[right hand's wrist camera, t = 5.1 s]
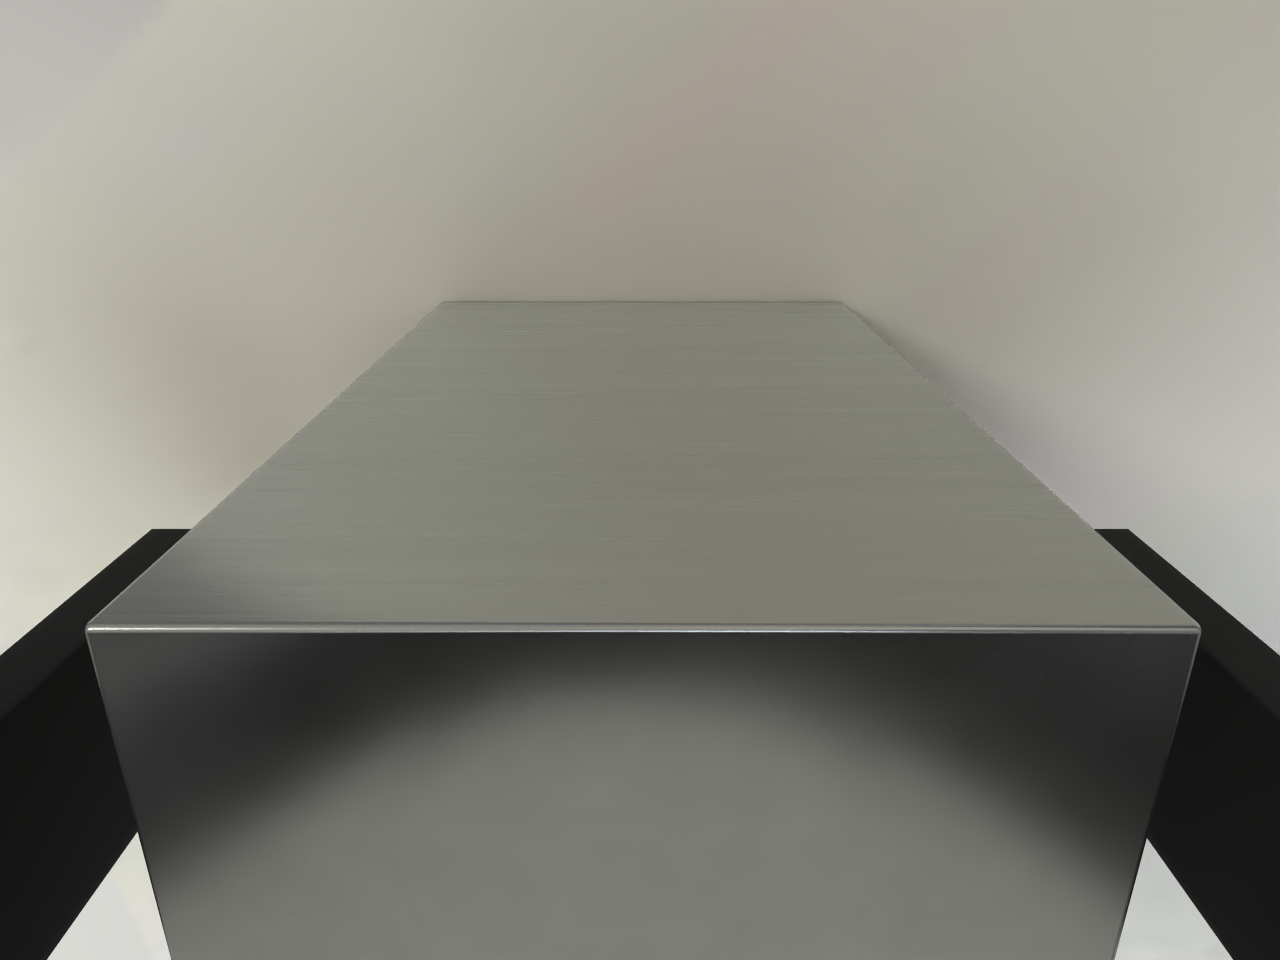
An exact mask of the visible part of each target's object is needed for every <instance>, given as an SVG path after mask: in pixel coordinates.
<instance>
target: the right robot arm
mask: <svg viewBox="0 0 1280 960" xmlns="http://www.w3.org/2000/svg"><path fill="white" fill-rule="evenodd" d="M190 530H191V529H151V530H150V531H149V532H148V533H147V534H145V535H144V536H143V537H142V538H141V539H139V540H138V541H137V542H136V543H135V544H133V545H132V546H131V547H130V548H129V549H127V550H126V551H125V552H124V553H123V554H121V555H120V556H119V557H118V558H117V559H115V560H114V561H113V562H112V563H111V564H109V565H108V566H107V567H106V568H105V569H103V570H102V571H101V572H100V573H99V574H97V575H96V576H95V577H94V578H93V579H91V580H90V581H89V582H88V583H87V584H85V585H84V586H83V587H82V588H81V589H79V590H78V591H77V592H76V593H75V594H73V595H72V596H71V597H70V598H69V599H68V600H66V601H65V602H64V603H63V604H62V605H60V606H59V607H58V608H57V609H56V610H54V611H53V612H52V613H51V614H50V615H48V616H47V617H46V618H45V619H44V620H42V621H41V622H40V623H39V624H38V625H36V626H35V627H34V628H33V629H32V630H30V631H29V632H28V633H27V634H26V635H24V636H23V637H22V638H21V639H20V640H18V641H17V642H16V643H15V644H14V645H12V646H11V647H10V648H9V649H8V650H6V651H5V652H4V653H3V654H2V655H0V960H47V959H48V957H49V956H50V954H51V953H52V951H53V950H54V949H55V947H56V946H57V944H58V943H59V942H60V940H61V939H62V937H63V936H64V935H65V933H66V932H67V930H68V929H69V928H70V926H71V925H72V923H73V922H74V920H75V919H76V918H77V916H78V915H79V913H80V912H81V911H82V909H83V908H84V906H85V905H86V903H87V902H88V901H89V899H90V898H91V896H92V895H93V894H94V892H95V891H96V889H97V888H98V886H99V885H100V884H101V882H102V881H103V879H104V878H105V877H106V875H107V874H108V872H109V871H110V870H111V868H112V867H113V865H114V864H115V863H116V861H117V860H118V858H119V857H120V855H121V854H122V853H123V851H124V850H125V848H126V847H127V846H128V844H129V843H130V841H131V840H132V839H133V837H134V836H135V834H136V833H137V827H136V823H135V820H134V816H133V812H132V808H131V804H130V801H129V797H128V793H127V789H126V785H125V782H124V778H123V774H122V770H121V767H120V763H119V759H118V755H117V751H116V748H115V744H114V740H113V736H112V732H111V729H110V725H109V721H108V717H107V713H106V710H105V706H104V702H103V698H102V695H101V691H100V687H99V683H98V679H97V676H96V672H95V668H94V664H93V660H92V657H91V653H90V649H89V645H88V641H87V638H86V634H85V628H86V625H87V623H88V622H89V621H90V620H92V619H93V618H94V617H95V616H96V615H97V614H98V613H99V612H100V611H101V610H103V609H104V608H105V607H106V606H107V605H108V604H109V603H110V602H111V601H113V600H114V599H115V598H116V597H117V596H118V595H119V594H120V593H121V592H123V591H124V590H125V589H126V588H127V587H128V586H129V585H130V584H131V583H132V582H134V581H135V580H136V579H137V578H138V577H139V576H140V575H141V574H142V573H144V572H145V571H146V570H147V569H148V568H149V567H150V566H151V565H152V564H153V563H155V562H156V561H157V560H158V559H159V558H160V557H161V556H162V555H163V554H165V553H166V552H167V551H168V550H169V549H170V548H171V547H172V546H173V545H174V544H176V543H177V542H178V541H179V540H180V539H181V538H182V537H183V536H184V535H186V534H187V533H188V532H189V531H190ZM1094 530H1095V531H1096V532H1097V533H1098V534H1099V535H1101V536H1102V537H1103V538H1104V539H1105V540H1106V541H1107V542H1108V543H1109V544H1111V545H1112V546H1113V547H1114V548H1115V549H1116V550H1117V551H1118V552H1119V553H1120V554H1122V555H1123V556H1124V557H1125V558H1126V559H1127V560H1128V561H1129V562H1130V563H1132V564H1133V565H1134V566H1135V567H1136V568H1137V569H1138V570H1139V571H1140V572H1142V573H1143V574H1144V575H1145V576H1146V577H1147V578H1148V579H1149V580H1150V581H1152V582H1153V583H1154V584H1155V585H1156V586H1157V587H1158V588H1159V589H1160V590H1162V591H1163V592H1164V593H1165V594H1166V595H1167V596H1168V597H1169V598H1170V599H1171V600H1173V601H1174V602H1175V603H1176V604H1177V605H1178V606H1179V607H1180V608H1181V609H1183V610H1184V611H1185V612H1186V613H1187V614H1188V615H1189V616H1190V617H1191V618H1193V619H1194V620H1195V621H1196V622H1197V623H1198V624H1199V625H1200V627H1201V637H1200V640H1199V644H1198V648H1197V652H1196V655H1195V659H1194V663H1193V667H1192V670H1191V674H1190V678H1189V682H1188V685H1187V689H1186V693H1185V697H1184V700H1183V704H1182V708H1181V712H1180V715H1179V719H1178V723H1177V727H1176V730H1175V734H1174V738H1173V742H1172V745H1171V749H1170V753H1169V757H1168V760H1167V764H1166V768H1165V771H1164V775H1163V779H1162V783H1161V786H1160V790H1159V794H1158V798H1157V801H1156V805H1155V809H1154V813H1153V816H1152V820H1151V824H1150V828H1149V831H1148V835H1147V838H1148V840H1149V841H1150V843H1151V844H1152V846H1153V847H1154V848H1155V850H1156V851H1157V853H1158V854H1159V855H1160V857H1161V858H1162V860H1163V861H1164V862H1165V864H1166V865H1167V867H1168V868H1169V870H1170V871H1171V872H1172V874H1173V875H1174V877H1175V878H1176V879H1177V881H1178V882H1179V884H1180V885H1181V887H1182V888H1183V889H1184V891H1185V892H1186V894H1187V895H1188V896H1189V898H1190V899H1191V901H1192V902H1193V903H1194V905H1195V906H1196V908H1197V909H1198V911H1199V912H1200V913H1201V915H1202V916H1203V918H1204V919H1205V920H1206V922H1207V923H1208V925H1209V926H1210V927H1211V929H1212V930H1213V932H1214V933H1215V935H1216V936H1217V937H1218V939H1219V940H1220V942H1221V943H1222V944H1223V946H1224V947H1225V949H1226V950H1227V951H1228V953H1229V954H1230V956H1231V957H1232V959H1233V960H1280V655H1278V654H1277V653H1276V652H1275V651H1274V650H1272V649H1271V648H1270V647H1269V646H1268V645H1266V644H1265V643H1264V642H1263V641H1262V640H1260V639H1259V638H1258V637H1257V636H1256V635H1254V634H1253V633H1252V632H1251V631H1250V630H1248V629H1247V628H1246V627H1245V626H1244V625H1242V624H1241V623H1240V622H1239V621H1238V620H1236V619H1235V618H1234V617H1233V616H1232V615H1230V614H1229V613H1228V612H1227V611H1226V610H1225V609H1223V608H1222V607H1221V606H1220V605H1219V604H1217V603H1216V602H1215V601H1214V600H1213V599H1211V598H1210V597H1209V596H1208V595H1207V594H1205V593H1204V592H1203V591H1202V590H1201V589H1199V588H1198V587H1197V586H1196V585H1195V584H1193V583H1192V582H1191V581H1190V580H1189V579H1187V578H1186V577H1185V576H1184V575H1183V574H1181V573H1180V572H1179V571H1178V570H1177V569H1175V568H1174V567H1173V566H1172V565H1171V564H1169V563H1168V562H1167V561H1166V560H1165V559H1163V558H1162V557H1161V556H1160V555H1159V554H1157V553H1156V552H1155V551H1154V550H1153V549H1151V548H1150V547H1149V546H1148V545H1147V544H1145V543H1144V542H1143V541H1142V540H1141V539H1139V538H1138V537H1137V536H1136V535H1135V534H1133V533H1132V532H1131V531H1130V530H1129V529H1094Z"/></svg>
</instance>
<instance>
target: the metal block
mask: <svg viewBox="0 0 1280 960" xmlns="http://www.w3.org/2000/svg"><path fill="white" fill-rule="evenodd" d="M85 634H86V638H87V641H88V645H89V649H90V653H91V657H92V660H93V664H94V668H95V672H96V676H97V679H98V683H99V687H100V691H101V695H102V698H103V702H104V706H105V710H106V713H107V717H108V721H109V725H110V729H111V732H112V736H113V740H114V744H115V748H116V751H117V755H118V759H119V763H120V767H121V770H122V774H123V778H124V782H125V785H126V789H127V793H128V797H129V801H130V804H131V808H132V812H133V816H134V820H135V823H136V827H137V831H138V835H139V839H140V842H141V846H142V850H143V854H144V857H145V861H146V865H147V869H148V873H149V876H150V880H151V884H152V888H153V892H154V895H155V899H156V903H157V907H158V910H159V914H160V918H161V922H162V926H163V929H164V933H165V937H166V941H167V945H168V948H169V952H170V956H171V960H1114V959H1115V955H1116V951H1117V947H1118V944H1119V940H1120V936H1121V933H1122V929H1123V925H1124V921H1125V918H1126V914H1127V910H1128V906H1129V903H1130V899H1131V895H1132V891H1133V888H1134V884H1135V880H1136V876H1137V873H1138V869H1139V865H1140V861H1141V858H1142V854H1143V850H1144V846H1145V843H1146V839H1147V835H1148V831H1149V828H1150V824H1151V820H1152V816H1153V813H1154V809H1155V805H1156V801H1157V798H1158V794H1159V790H1160V786H1161V783H1162V779H1163V775H1164V771H1165V768H1166V764H1167V760H1168V757H1169V753H1170V749H1171V745H1172V742H1173V738H1174V734H1175V730H1176V727H1177V723H1178V719H1179V715H1180V712H1181V708H1182V704H1183V700H1184V697H1185V693H1186V689H1187V685H1188V682H1189V678H1190V674H1191V670H1192V667H1193V663H1194V659H1195V655H1196V652H1197V648H1198V644H1199V640H1200V637H1201V627H1200V625H1199V624H1198V623H1197V622H1196V621H1195V620H1194V619H1193V618H1191V617H1190V616H1189V615H1188V614H1187V613H1186V612H1185V611H1184V610H1183V609H1181V608H1180V607H1179V606H1178V605H1177V604H1176V603H1175V602H1174V601H1173V600H1171V599H1170V598H1169V597H1168V596H1167V595H1166V594H1165V593H1164V592H1163V591H1162V590H1160V589H1159V588H1158V587H1157V586H1156V585H1155V584H1154V583H1153V582H1152V581H1150V580H1149V579H1148V578H1147V577H1146V576H1145V575H1144V574H1143V573H1142V572H1140V571H1139V570H1138V569H1137V568H1136V567H1135V566H1134V565H1133V564H1132V563H1130V562H1129V561H1128V560H1127V559H1126V558H1125V557H1124V556H1123V555H1122V554H1120V553H1119V552H1118V551H1117V550H1116V549H1115V548H1114V547H1113V546H1112V545H1111V544H1109V543H1108V542H1107V541H1106V540H1105V539H1104V538H1103V537H1102V536H1101V535H1099V534H1098V533H1097V532H1096V531H1095V530H1094V529H1093V528H1092V527H1091V526H1089V525H1088V524H1087V523H1086V522H1085V521H1084V520H1083V519H1082V518H1081V517H1079V516H1078V515H1077V514H1076V513H1075V512H1074V511H1073V510H1072V509H1071V508H1069V507H1068V506H1067V505H1066V504H1065V503H1064V502H1063V501H1062V500H1061V499H1059V498H1058V497H1057V496H1056V495H1055V494H1054V493H1053V492H1052V491H1051V490H1050V489H1048V488H1047V487H1046V486H1045V485H1044V484H1043V483H1042V482H1041V481H1040V480H1038V479H1037V478H1036V477H1035V476H1034V475H1033V474H1032V473H1031V472H1030V471H1028V470H1027V469H1026V468H1025V467H1024V466H1023V465H1022V464H1021V463H1020V462H1018V461H1017V460H1016V459H1015V458H1014V457H1013V456H1012V455H1011V454H1010V453H1008V452H1007V451H1006V450H1005V449H1004V448H1003V447H1002V446H1001V445H1000V444H998V443H997V442H996V441H995V440H994V439H993V438H992V437H991V436H990V435H989V434H987V433H986V432H985V431H984V430H983V429H982V428H981V427H980V426H979V425H977V424H976V423H975V422H974V421H973V420H972V419H971V418H970V417H969V416H967V415H966V414H965V413H964V412H963V411H962V410H961V409H960V408H959V407H957V406H956V405H955V404H954V403H953V402H952V401H951V400H950V399H949V398H947V397H946V396H945V395H944V394H943V393H942V392H941V391H940V390H939V389H937V388H936V387H935V386H934V385H933V384H932V383H931V382H930V381H929V380H928V379H926V378H925V377H924V376H923V375H922V374H921V373H920V372H919V371H918V370H916V369H915V368H914V367H913V366H912V365H911V364H910V363H909V362H908V361H906V360H905V359H904V358H903V357H902V356H901V355H900V354H899V353H898V352H896V351H895V350H894V349H893V348H892V347H891V346H890V345H889V344H888V343H886V342H885V341H884V340H883V339H882V338H881V337H880V336H879V335H878V334H877V333H875V332H874V331H873V330H872V329H871V328H870V327H869V326H868V325H867V324H865V323H864V322H863V321H862V320H861V319H860V318H859V317H858V316H857V315H855V314H854V313H853V312H852V311H851V310H850V309H849V308H848V307H847V306H845V305H844V304H843V303H841V302H443V303H441V304H440V305H439V306H438V307H437V308H436V309H434V310H433V311H432V312H431V313H430V314H429V315H428V316H427V317H426V318H424V319H423V320H422V321H421V322H420V323H419V324H418V325H417V326H416V327H415V328H413V329H412V330H411V331H410V332H409V333H408V334H407V335H406V336H405V337H403V338H402V339H401V340H400V341H399V342H398V343H397V344H396V345H395V346H394V347H392V348H391V349H390V350H389V351H388V352H387V353H386V354H385V355H384V356H382V357H381V358H380V359H379V360H378V361H377V362H376V363H375V364H374V365H373V366H371V367H370V368H369V369H368V370H367V371H366V372H365V373H364V374H363V375H361V376H360V377H359V378H358V379H357V380H356V381H355V382H354V383H353V384H351V385H350V386H349V387H348V388H347V389H346V390H345V391H344V392H343V393H342V394H340V395H339V396H338V397H337V398H336V399H335V400H334V401H333V402H332V403H330V404H329V405H328V406H327V407H326V408H325V409H324V410H323V411H322V412H321V413H319V414H318V415H317V416H316V417H315V418H314V419H313V420H312V421H311V422H309V423H308V424H307V425H306V426H305V427H304V428H303V429H302V430H301V431H299V432H298V433H297V434H296V435H295V436H294V437H293V438H292V439H291V440H290V441H288V442H287V443H286V444H285V445H284V446H283V447H282V448H281V449H280V450H278V451H277V452H276V453H275V454H274V455H273V456H272V457H271V458H270V459H269V460H267V461H266V462H265V463H264V464H263V465H262V466H261V467H260V468H259V469H257V470H256V471H255V472H254V473H253V474H252V475H251V476H250V477H249V478H248V479H246V480H245V481H244V482H243V483H242V484H241V485H240V486H239V487H238V488H236V489H235V490H234V491H233V492H232V493H231V494H230V495H229V496H228V497H226V498H225V499H224V500H223V501H222V502H221V503H220V504H219V505H218V506H217V507H215V508H214V509H213V510H212V511H211V512H210V513H209V514H208V515H207V516H205V517H204V518H203V519H202V520H201V521H200V522H199V523H198V524H197V525H196V526H194V527H193V528H192V529H191V530H190V531H189V532H188V533H187V534H186V535H184V536H183V537H182V538H181V539H180V540H179V541H178V542H177V543H176V544H174V545H173V546H172V547H171V548H170V549H169V550H168V551H167V552H166V553H165V554H163V555H162V556H161V557H160V558H159V559H158V560H157V561H156V562H155V563H153V564H152V565H151V566H150V567H149V568H148V569H147V570H146V571H145V572H144V573H142V574H141V575H140V576H139V577H138V578H137V579H136V580H135V581H134V582H132V583H131V584H130V585H129V586H128V587H127V588H126V589H125V590H124V591H123V592H121V593H120V594H119V595H118V596H117V597H116V598H115V599H114V600H113V601H111V602H110V603H109V604H108V605H107V606H106V607H105V608H104V609H103V610H101V611H100V612H99V613H98V614H97V615H96V616H95V617H94V618H93V619H92V620H90V621H89V622H88V623H87V625H86V628H85Z"/></svg>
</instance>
